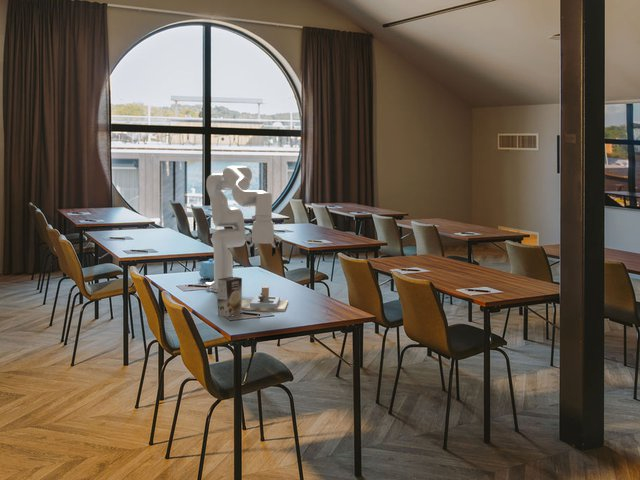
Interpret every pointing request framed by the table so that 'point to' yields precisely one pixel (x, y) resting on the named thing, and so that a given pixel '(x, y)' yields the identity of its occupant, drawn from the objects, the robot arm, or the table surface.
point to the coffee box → (229, 296)
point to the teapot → (207, 269)
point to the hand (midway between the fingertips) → (262, 255)
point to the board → (280, 307)
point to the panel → (265, 300)
